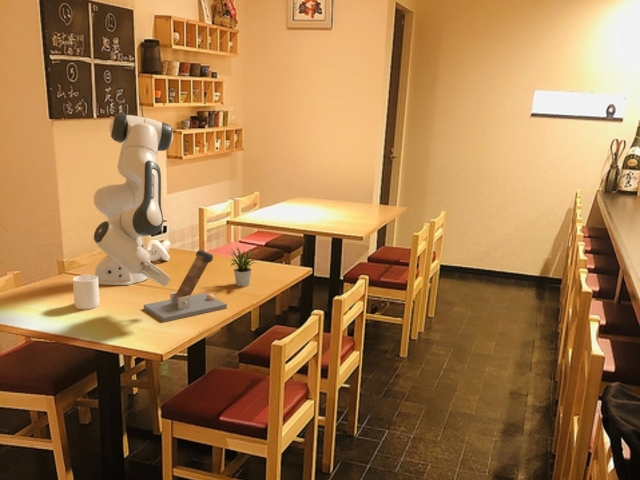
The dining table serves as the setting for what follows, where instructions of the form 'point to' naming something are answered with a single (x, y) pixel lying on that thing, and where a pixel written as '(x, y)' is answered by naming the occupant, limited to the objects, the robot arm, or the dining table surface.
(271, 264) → the dining table surface
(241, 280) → the house plant
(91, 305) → the mug
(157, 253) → the white knot sculpture
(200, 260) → the lever
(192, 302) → the press base
